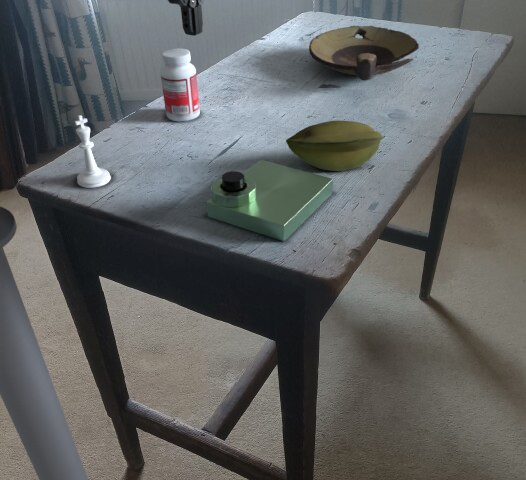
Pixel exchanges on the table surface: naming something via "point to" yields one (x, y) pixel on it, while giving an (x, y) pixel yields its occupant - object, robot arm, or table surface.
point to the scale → (270, 199)
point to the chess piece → (89, 160)
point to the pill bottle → (179, 85)
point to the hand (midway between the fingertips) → (193, 33)
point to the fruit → (335, 145)
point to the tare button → (233, 181)
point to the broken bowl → (362, 50)
